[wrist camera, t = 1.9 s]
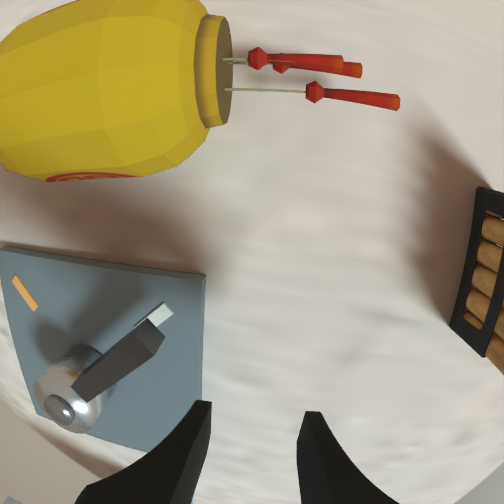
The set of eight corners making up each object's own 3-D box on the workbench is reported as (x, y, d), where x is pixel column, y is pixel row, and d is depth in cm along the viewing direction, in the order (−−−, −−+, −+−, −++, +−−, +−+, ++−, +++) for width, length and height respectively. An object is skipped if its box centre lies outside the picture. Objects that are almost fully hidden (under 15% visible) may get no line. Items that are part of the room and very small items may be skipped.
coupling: (96, 404, 23) (69, 444, 17) (55, 361, 22) (21, 397, 17) (196, 336, 20) (175, 385, 15) (143, 277, 19) (105, 313, 14)
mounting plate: (201, 454, 25) (198, 465, 24) (42, 407, 26) (36, 415, 24) (205, 275, 20) (201, 282, 19) (5, 246, 21) (-5, 250, 20)
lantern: (443, -35, 6) (-102, 83, 7) (429, 218, 10) (-87, 215, 12) (369, 14, 14) (-14, 66, 16) (362, 159, 19) (-6, 170, 21)
